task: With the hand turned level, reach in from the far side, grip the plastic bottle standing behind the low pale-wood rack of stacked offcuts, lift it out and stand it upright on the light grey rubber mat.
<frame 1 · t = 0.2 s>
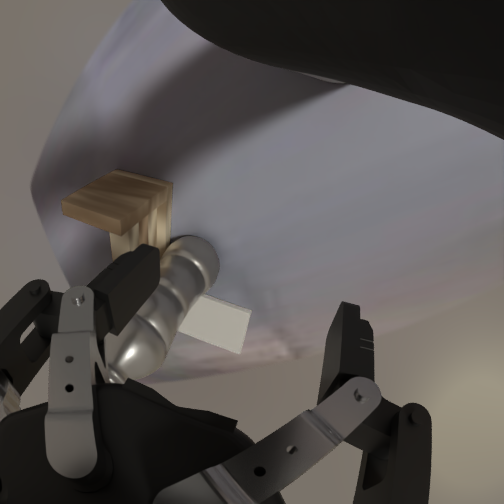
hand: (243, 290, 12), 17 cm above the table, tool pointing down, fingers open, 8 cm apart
offcut rack: (143, 234, 36), on the table
plastic bottle: (200, 253, 35), on the table
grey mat: (211, 320, 41), on the table
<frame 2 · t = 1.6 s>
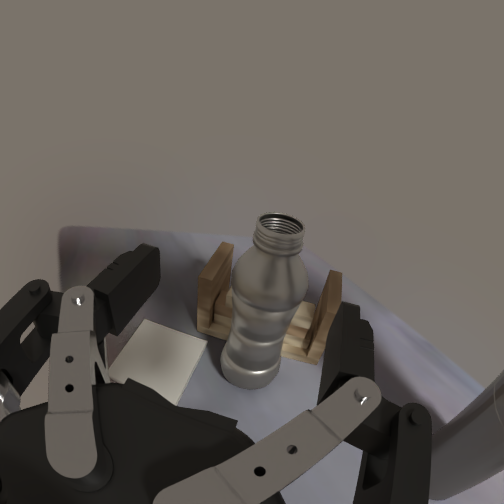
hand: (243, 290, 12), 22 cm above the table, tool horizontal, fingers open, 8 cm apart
offcut rack: (263, 327, 40), on the table
plastic bottle: (247, 374, 34), on the table
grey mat: (157, 360, 33), on the table
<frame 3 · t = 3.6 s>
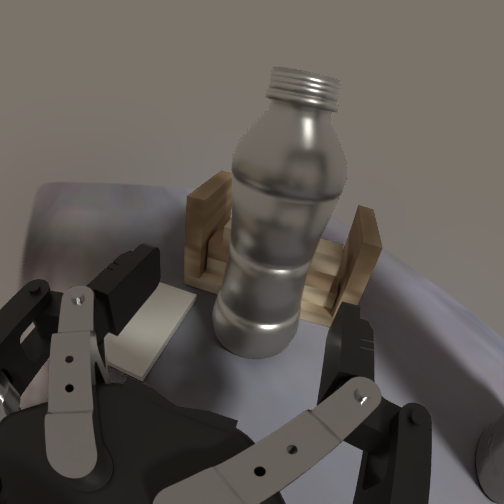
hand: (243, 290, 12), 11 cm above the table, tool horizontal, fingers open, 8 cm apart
offcut rack: (271, 283, 31), on the table
plastic bottle: (250, 340, 24), on the table
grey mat: (126, 317, 24), on the table
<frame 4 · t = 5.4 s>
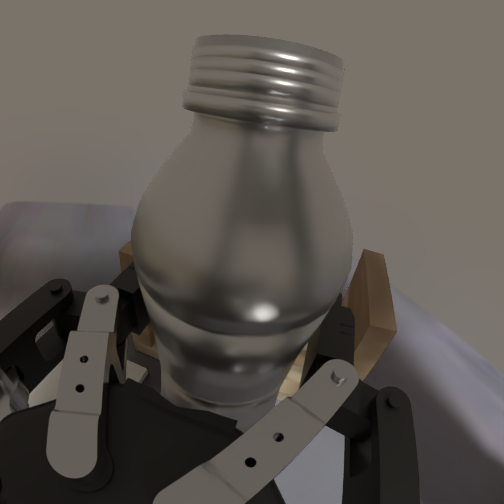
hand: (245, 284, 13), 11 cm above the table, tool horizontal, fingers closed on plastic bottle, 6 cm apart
offcut rack: (247, 347, 23), on the table
plastic bottle: (213, 433, 17), on the table, touching gripper
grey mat: (65, 395, 16), on the table
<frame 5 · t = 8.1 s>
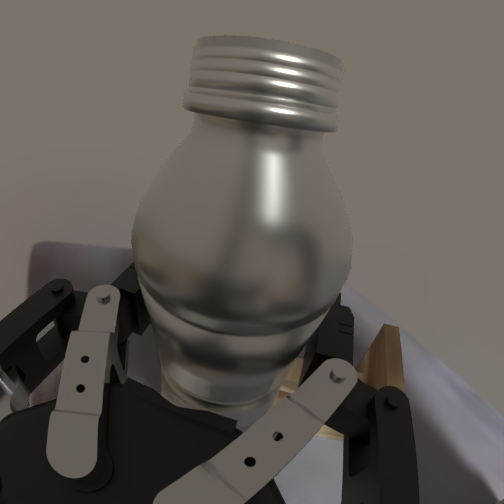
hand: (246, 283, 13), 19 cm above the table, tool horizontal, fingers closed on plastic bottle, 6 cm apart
offcut rack: (288, 394, 28), on the table
plastic bottle: (213, 433, 17), point 7 cm above the table, touching gripper
when the fingers open (12 cm above the table, at t = 10.7 s): plastic bottle stays where it is, resting on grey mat.
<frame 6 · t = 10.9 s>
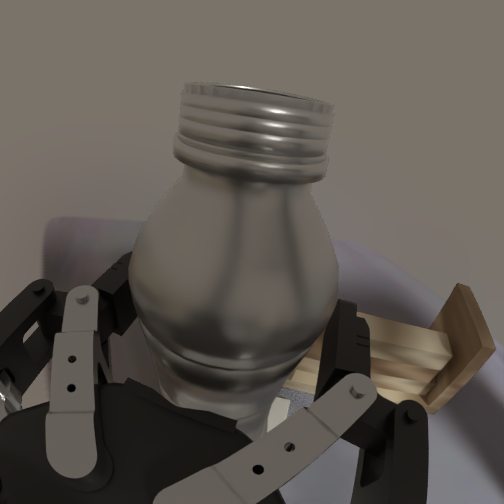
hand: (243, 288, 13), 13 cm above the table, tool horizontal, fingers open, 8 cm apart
offcut rack: (361, 368, 25), on the table
plastic bottle: (210, 441, 17), resting on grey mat
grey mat: (212, 440, 18), on the table
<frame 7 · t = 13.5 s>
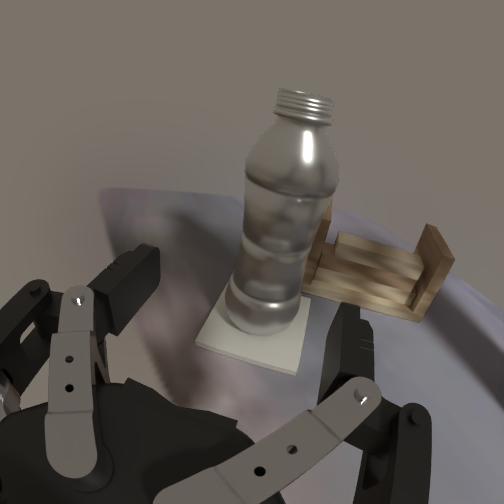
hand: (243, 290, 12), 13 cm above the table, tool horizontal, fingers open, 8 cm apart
offcut rack: (359, 287, 36), on the table
plastic bottle: (257, 320, 28), resting on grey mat
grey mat: (258, 322, 29), on the table
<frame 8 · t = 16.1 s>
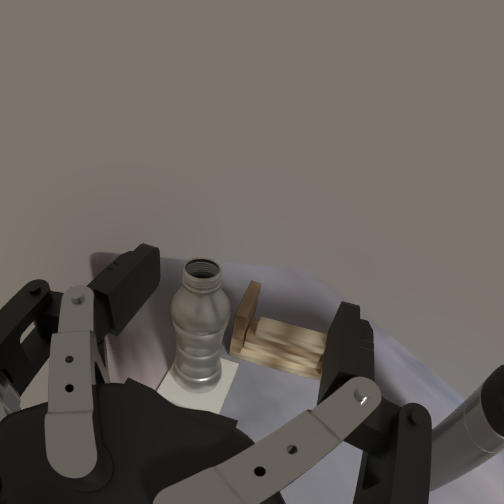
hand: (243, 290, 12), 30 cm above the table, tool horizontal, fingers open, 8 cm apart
offcut rack: (283, 351, 47), on the table
plastic bottle: (197, 380, 40), resting on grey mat
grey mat: (198, 381, 40), on the table
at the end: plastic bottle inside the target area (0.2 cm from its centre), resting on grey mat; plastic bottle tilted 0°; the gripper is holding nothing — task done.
